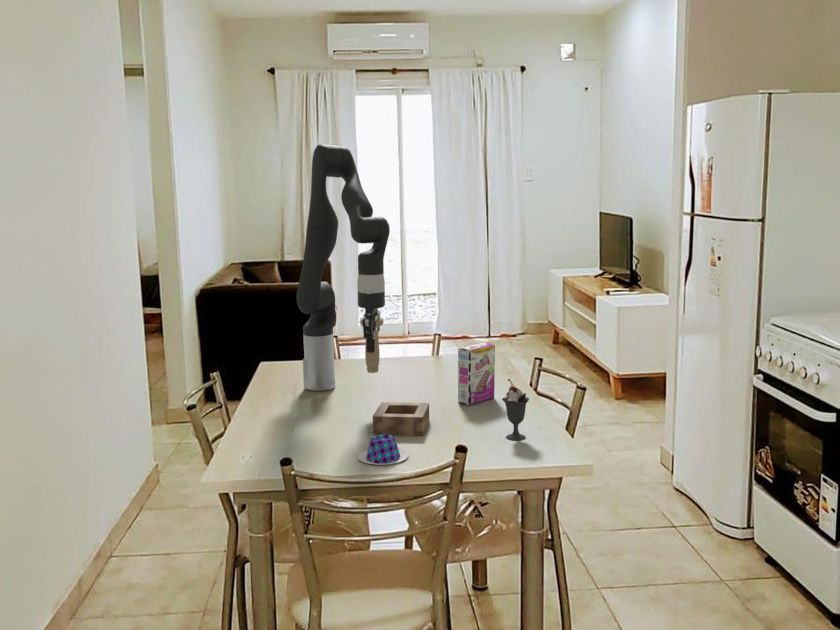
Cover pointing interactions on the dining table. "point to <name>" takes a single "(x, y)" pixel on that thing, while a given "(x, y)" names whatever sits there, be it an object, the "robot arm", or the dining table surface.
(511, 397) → the sundae
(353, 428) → the dining table surface
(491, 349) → the candy bar box
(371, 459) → the pudding
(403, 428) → the collar block
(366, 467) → the dining table surface
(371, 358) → the handle
